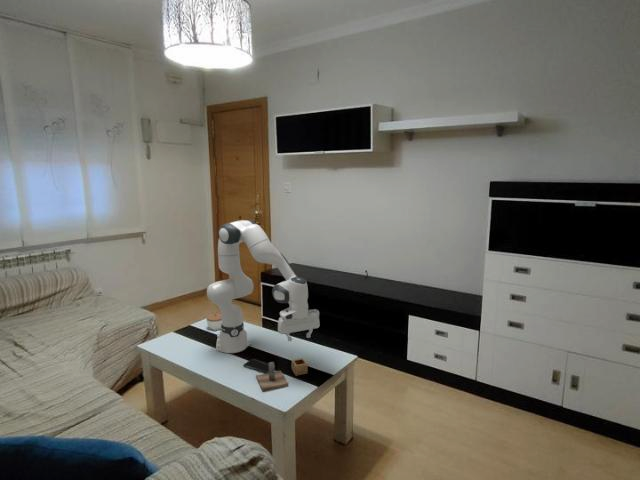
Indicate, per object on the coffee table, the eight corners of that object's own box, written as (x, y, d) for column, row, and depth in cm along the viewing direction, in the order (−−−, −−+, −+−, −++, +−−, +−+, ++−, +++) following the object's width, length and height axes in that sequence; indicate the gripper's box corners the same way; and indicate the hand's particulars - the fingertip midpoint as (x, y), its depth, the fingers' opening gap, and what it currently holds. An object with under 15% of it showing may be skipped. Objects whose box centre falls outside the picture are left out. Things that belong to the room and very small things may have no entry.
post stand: (256, 378, 185) (255, 359, 183) (280, 373, 190) (280, 355, 188) (262, 391, 174) (262, 372, 172) (288, 386, 179) (288, 366, 177)
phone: (266, 373, 189) (242, 365, 196) (266, 375, 189) (242, 367, 196) (276, 365, 195) (252, 358, 202) (276, 367, 196) (252, 360, 203)
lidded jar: (210, 333, 234) (209, 318, 232) (204, 327, 243) (204, 312, 241) (227, 329, 240) (227, 314, 238) (221, 323, 249) (220, 309, 247)
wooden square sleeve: (291, 369, 193) (291, 360, 192) (303, 367, 195) (303, 358, 194) (295, 375, 187) (295, 366, 186) (307, 373, 190) (307, 363, 189)
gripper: (316, 306, 192) (316, 332, 195) (276, 312, 184) (277, 339, 187) (321, 310, 186) (321, 337, 189) (280, 317, 179) (281, 345, 181)
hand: (299, 339), depth 188 cm, fingers open, 8 cm apart
